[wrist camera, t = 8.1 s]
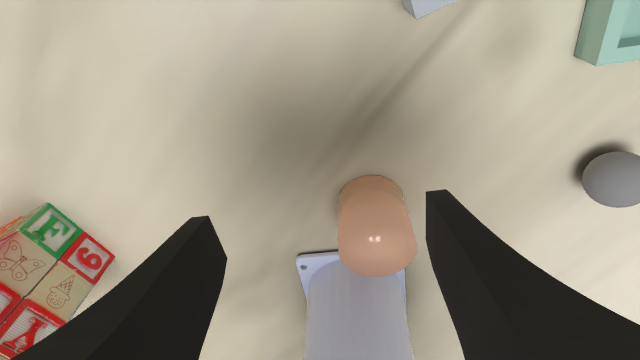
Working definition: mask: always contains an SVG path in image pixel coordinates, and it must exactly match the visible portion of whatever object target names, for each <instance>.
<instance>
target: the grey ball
mask: <svg viewBox="0 0 640 360" xmlns="http://www.w3.org/2000/svg"><path fill="white" fill-rule="evenodd" d="M582 184H583V187H584V190H585V191H586V193H587V194H588V195H589V196H590V197H591V198H592V199H593V200H594V201H596V202H598V203H600V204H602V205H605V206H609V207H616V208H621V207H629V206H633V205H636V204H638V203H640V156H638V155H636V154H633V153H629V152H620V151H618V152H609V153H605V154H602V155H600V156H598V157H596V158H595V159H593V160H592V161H591V162H590V163H589V164H588V165H587V166H586V168H585V170H584V172H583V176H582Z"/></svg>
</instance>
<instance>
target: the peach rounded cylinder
mask: <svg viewBox="0 0 640 360" xmlns="http://www.w3.org/2000/svg"><path fill="white" fill-rule="evenodd" d="M416 249H417V246H416V241H415V237H414V234H413V230H412V226H411V223H410V219H409V216H408V212H407V208H406V205H405V201H404V197H403V194H402V191H401V189H400V188H399V186H398V185H397V184H396V183H395V182H393V181H392V180H390V179H388V178H386V177H382V176H377V175H367V176H362V177H358V178H356V179H354V180H352V181H350V182H349V183H348V184H346V185H345V186H344V187H343V189H342V190H341V192H340V194H339V196H338V253H339V258H340V260H341V262H342V263H343V264H344V265H345V266H346V267H347V268H348V269H349V270H351V271H352V272H354V273H357V274H359V275H363V276H368V277H382V276H388V275H391V274H394V273H397V272H399V271H401V270H402V269H404V268H405V267H407V266H408V265H409V264H410V263H411V261H412V260H413V258H414V257H415V254H416Z"/></svg>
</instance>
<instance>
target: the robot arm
mask: <svg viewBox="0 0 640 360" xmlns="http://www.w3.org/2000/svg"><path fill="white" fill-rule="evenodd" d="M426 242H427V247H428V251H429V255H430V259H431V263H432V267H433V270H434V273H435V276H436V278H437V281H438V284H439V286H440V289H441V292H442V294H443V297H444V300H445V302H446V305H447V308H448V310H449V313H450V316H451V318H452V321H453V323H454V326H455V329H456V331H457V334H458V337H459V340H460V343H461V346H462V350H463V354H464V357H465V360H640V325H639V324H637V323H635V322H633V321H631V320H629V319H627V318H625V317H623V316H621V315H619V314H617V313H615V312H613V311H611V310H609V309H607V308H605V307H604V306H602V305H600V304H598V303H596V302H594V301H593V300H591V299H589V298H587V297H586V296H584V295H582V294H580V293H579V292H577V291H575V290H574V289H572V288H570V287H568V286H567V285H565V284H563V283H562V282H560V281H559V280H557V279H555V278H554V277H552V276H551V275H549V274H548V273H546V272H545V271H543V270H542V269H540V268H539V267H537V266H536V265H534V264H533V263H531V262H530V261H528V260H527V259H526V258H524V257H523V256H522V255H520V254H519V253H518V252H516V251H515V250H514V249H512V248H511V247H510V246H509V245H507V244H506V243H505V242H504V241H502V240H501V239H500V238H499V237H497V236H496V235H495V234H494V233H493V232H492V231H490V230H489V229H488V228H487V227H486V226H485V225H484V224H482V223H481V222H480V221H479V220H478V219H477V218H476V217H475V216H474V215H472V214H471V213H470V212H469V211H468V210H467V209H466V208H465V207H464V206H463V205H462V204H461V203H460V202H459V201H458V200H457V199H456V198H455V197H454V196H453V195H452V194H451V193H450V192H449V191H447V190H437V191H428V192H426ZM226 263H227V256H226V254H225V252H224V250H223V247H222V245H221V243H220V241H219V238H218V236H217V234H216V232H215V229H214V227H213V225H212V223H211V220H210V218H209V216H201V217H192V218H190V219H189V220H188V221H187V222H186V223H185V224H183V225H182V226H181V227H180V228H179V229H178V230H177V231H176V232H175V233H174V234H173V235H172V236H171V237H169V238H168V239H167V240H166V241H165V242H164V243H163V244H162V245H161V246H160V247H159V248H158V249H157V250H156V251H155V252H154V253H152V254H151V255H150V256H149V257H148V258H147V259H146V260H145V261H144V262H143V263H142V264H141V265H139V266H138V267H137V268H136V269H135V270H134V271H133V272H131V273H130V274H129V275H128V276H127V277H126V278H125V279H123V280H122V281H121V282H120V283H119V284H118V285H117V286H115V287H114V288H113V289H112V290H110V291H109V292H108V293H107V294H105V295H104V296H103V297H102V298H100V299H99V300H98V301H96V302H95V303H94V304H92V305H91V306H90V307H89V308H87V309H86V310H85V311H83V312H82V313H80V314H79V315H78V316H76V317H75V318H73V319H72V320H70V321H69V322H67V323H66V324H64V325H63V326H62V327H60V328H59V329H57V330H56V331H54V332H53V333H51V334H50V335H48V336H47V337H45V338H44V339H42V340H41V341H39V342H38V343H36V344H34V345H33V346H31V347H29V348H28V349H26V350H25V351H23V352H21V353H20V354H18V355H16V356H15V357H13V358H11V359H10V360H198V359H199V356H200V352H201V349H202V346H203V343H204V340H205V337H206V334H207V331H208V328H209V325H210V322H211V319H212V316H213V313H214V310H215V307H216V304H217V301H218V298H219V294H220V291H221V288H222V284H223V279H224V274H225V269H226ZM296 265H297V269H298V272H299V276H300V279H301V283H302V286H303V289H304V293H305V296H306V300H307V316H306V330H305V343H304V357H303V360H415V359H414V354H413V349H412V344H411V339H410V333H409V328H408V323H407V313H406V290H405V268H404V269H402V270H401V271H399V272H397V273H394V274H391V275H388V276H382V277H368V276H363V275H359V274H357V273H354V272H352V271H351V270H349V269H348V268H347V267H346V266H345V265H344V264H343V263H342V262H341V260H340V258H339V253H338V251H337V252H326V253H316V254H305V255H299V256H297V258H296ZM302 265H305V266H302Z"/></svg>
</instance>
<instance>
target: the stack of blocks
mask: <svg viewBox="0 0 640 360" xmlns="http://www.w3.org/2000/svg"><path fill="white" fill-rule="evenodd" d="M114 257H115V256H114V255H113V254H112V253H111V252H109V251H108V250H107V249H106V248H104V247H103V246H102V245H101V244H100V243H98V242H97V241H96V240H95V239H93V238H92V237H91V236H90V235H88V234H87V233H86V232H84V231H83V230H82V229H80V228H79V227H78V226H77V225H75V224H74V223H73V222H72V221H71V220H69V219H68V218H67V217H66V216H64V215H63V214H62V213H61V212H60V211H58V210H57V209H56V208H55V207H54V206H52V205H51V204H50V203H46V204H45V205H43V206H41V207H39V208H38V209H36V210H34V211H32V212H31V213H29V214H27V215H25V216H23V217H20V218H18V219H16V220H14V221H12V222H11V223H9V224H7V225H6V226H4V227H2V228H0V360H10V359H11V358H13V357H15V356H16V355H18V354H20V353H21V352H23V351H25V350H26V349H28V348H29V347H31V346H33V345H34V344H36V343H38V342H39V341H41V340H42V339H44V338H45V337H47V336H48V335H50V334H51V333H53V332H54V331H56V330H57V329H59V328H60V327H62V326H63V325H64V324H66V323H67V322H69V321H70V319H71V318H72V316H73V315H74V313H75V312H76V310H77V309H78V307H79V306H80V305H81V303H82V302H83V300H84V299H85V298H86V296H87V295H88V293H89V292H90V290H91V289H92V287H94V286H95V285H96V283H97V282H98V280H99V279H100V277H101V276H102V274H103V273H104V271H105V270H106V269H107V267H108V266H109V265H110V263H111V262H112V260H113V259H114Z"/></svg>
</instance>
